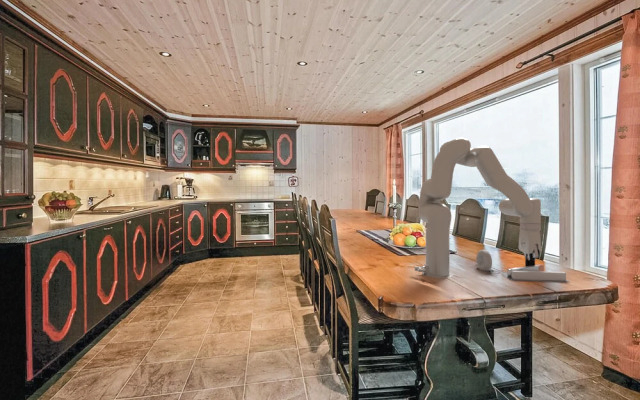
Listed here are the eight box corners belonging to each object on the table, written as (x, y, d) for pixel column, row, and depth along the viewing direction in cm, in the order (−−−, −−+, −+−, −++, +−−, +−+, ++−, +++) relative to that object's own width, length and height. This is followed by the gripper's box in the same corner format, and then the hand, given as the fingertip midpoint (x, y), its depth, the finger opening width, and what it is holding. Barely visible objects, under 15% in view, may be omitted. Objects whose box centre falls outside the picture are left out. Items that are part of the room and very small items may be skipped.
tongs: (511, 283, 124) (511, 273, 124) (499, 275, 136) (499, 265, 136) (570, 285, 121) (570, 274, 121) (552, 276, 133) (553, 266, 133)
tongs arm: (510, 277, 128) (510, 270, 128) (506, 276, 130) (506, 268, 130) (544, 272, 135) (544, 265, 135) (539, 271, 137) (539, 263, 137)
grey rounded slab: (493, 274, 137) (493, 252, 137) (485, 274, 137) (485, 252, 137) (482, 268, 147) (482, 247, 147) (474, 269, 147) (474, 247, 147)
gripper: (512, 224, 145) (512, 264, 145) (529, 229, 130) (529, 273, 131) (530, 224, 144) (530, 264, 144) (549, 229, 129) (549, 273, 130)
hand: (530, 268), depth 137 cm, fingers closed
